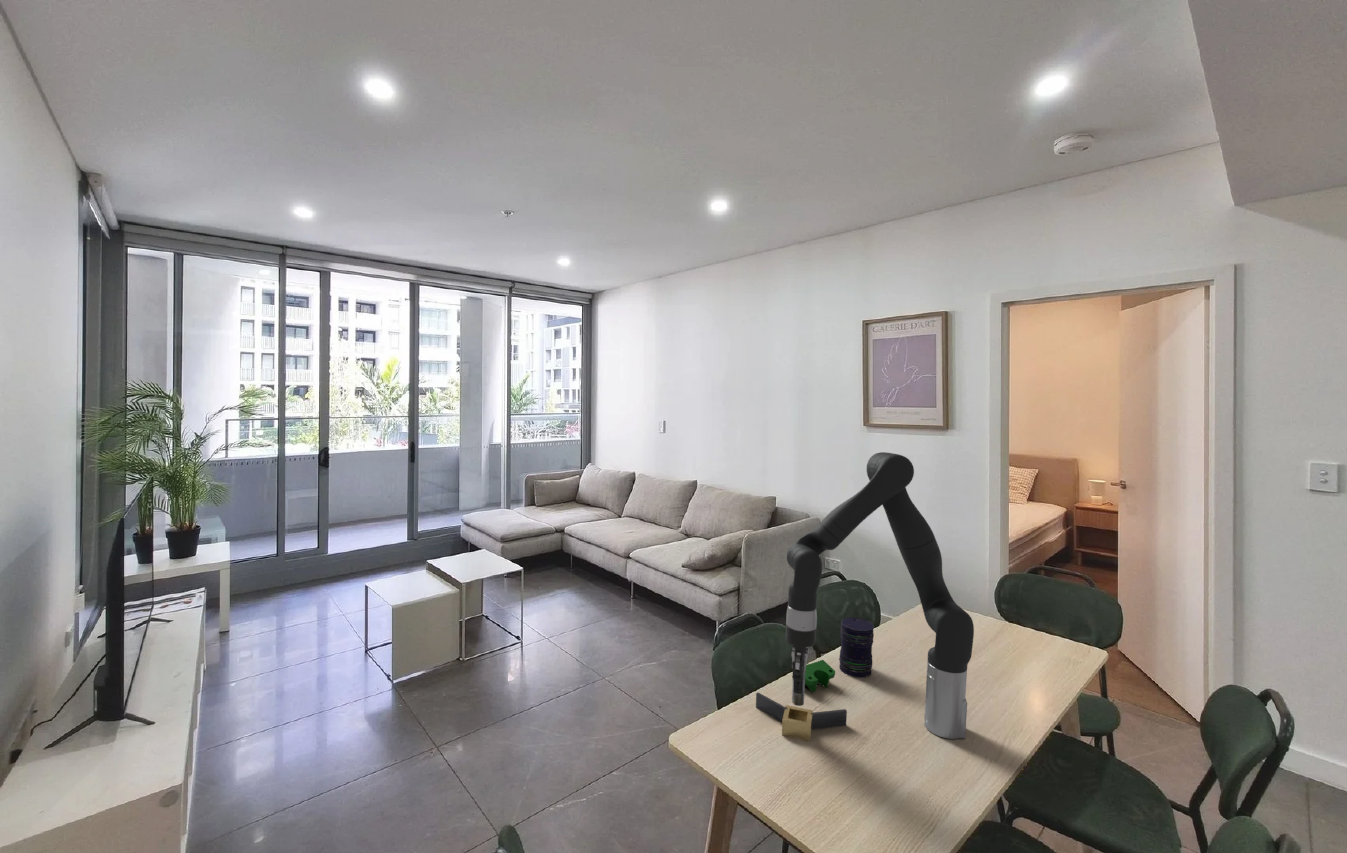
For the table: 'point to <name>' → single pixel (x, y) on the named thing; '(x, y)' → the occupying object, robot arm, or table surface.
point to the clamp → (818, 674)
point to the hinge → (800, 718)
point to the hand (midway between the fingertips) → (798, 688)
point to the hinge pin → (798, 695)
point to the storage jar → (856, 647)
